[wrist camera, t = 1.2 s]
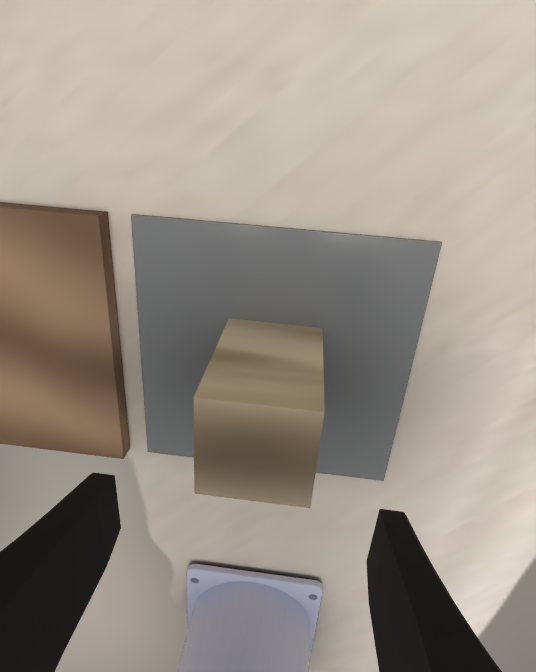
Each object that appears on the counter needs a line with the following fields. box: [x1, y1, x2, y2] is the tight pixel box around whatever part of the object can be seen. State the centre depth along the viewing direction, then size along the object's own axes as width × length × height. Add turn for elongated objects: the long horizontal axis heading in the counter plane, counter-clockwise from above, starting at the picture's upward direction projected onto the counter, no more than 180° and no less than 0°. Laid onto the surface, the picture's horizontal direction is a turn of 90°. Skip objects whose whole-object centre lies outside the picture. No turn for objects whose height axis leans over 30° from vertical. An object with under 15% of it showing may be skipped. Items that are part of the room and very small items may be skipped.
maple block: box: [194, 318, 325, 508], centre depth 17 cm, size 4×4×6 cm
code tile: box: [131, 214, 442, 481], centre depth 20 cm, size 12×12×1 cm
